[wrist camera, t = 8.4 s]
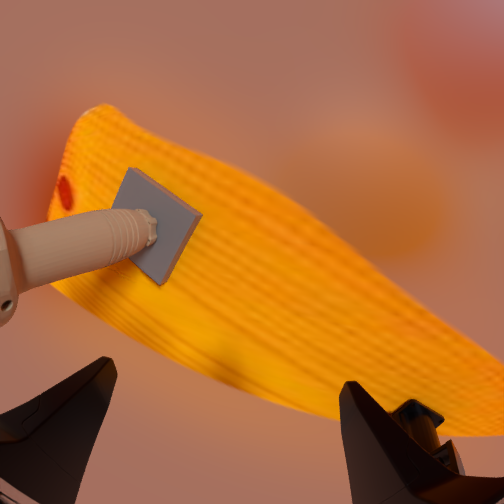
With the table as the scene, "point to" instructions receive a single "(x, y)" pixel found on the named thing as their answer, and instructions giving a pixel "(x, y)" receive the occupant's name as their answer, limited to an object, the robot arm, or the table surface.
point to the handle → (68, 249)
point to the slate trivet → (158, 222)
